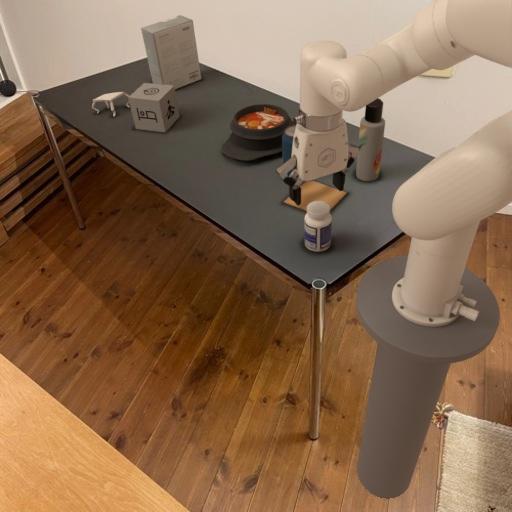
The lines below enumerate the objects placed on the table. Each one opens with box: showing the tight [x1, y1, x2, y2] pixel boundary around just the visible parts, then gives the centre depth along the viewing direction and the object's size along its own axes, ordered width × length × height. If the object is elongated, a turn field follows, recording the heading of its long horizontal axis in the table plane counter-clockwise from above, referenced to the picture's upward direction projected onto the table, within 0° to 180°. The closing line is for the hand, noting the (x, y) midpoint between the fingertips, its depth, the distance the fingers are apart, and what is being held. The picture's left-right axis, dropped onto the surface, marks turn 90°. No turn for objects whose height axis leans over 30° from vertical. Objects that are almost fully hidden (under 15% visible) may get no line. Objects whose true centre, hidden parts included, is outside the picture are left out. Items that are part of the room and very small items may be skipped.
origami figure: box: [91, 91, 130, 117], centre depth 161 cm, size 12×8×5 cm
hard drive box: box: [140, 14, 202, 90], centre depth 169 cm, size 16×8×20 cm, turn 130°
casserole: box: [220, 103, 295, 162], centre depth 139 cm, size 25×19×8 cm
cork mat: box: [283, 180, 348, 212], centre depth 122 cm, size 11×11×1 cm
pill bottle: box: [303, 201, 333, 253], centre depth 107 cm, size 6×6×10 cm
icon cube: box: [127, 82, 180, 133], centre depth 152 cm, size 10×10×10 cm
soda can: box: [281, 125, 298, 179], centre depth 127 cm, size 7×7×12 cm
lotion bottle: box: [355, 97, 386, 182], centre depth 121 cm, size 6×6×20 cm
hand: (317, 194), depth 102 cm, fingers open, 9 cm apart
